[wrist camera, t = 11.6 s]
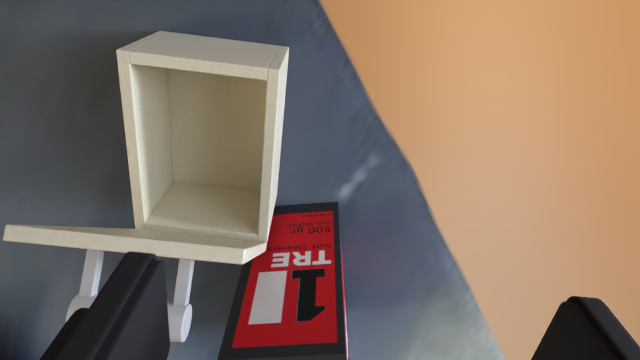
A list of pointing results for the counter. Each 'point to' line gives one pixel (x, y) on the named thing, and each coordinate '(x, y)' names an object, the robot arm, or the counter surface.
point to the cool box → (203, 133)
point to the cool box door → (139, 241)
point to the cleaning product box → (292, 292)
